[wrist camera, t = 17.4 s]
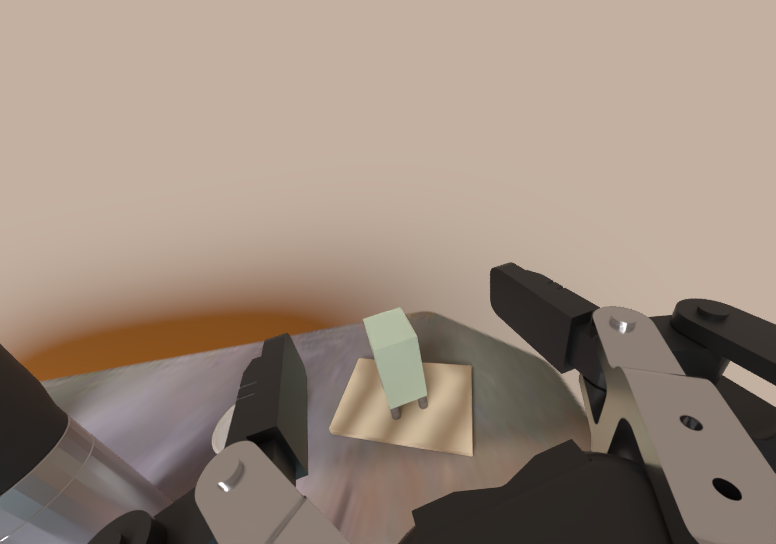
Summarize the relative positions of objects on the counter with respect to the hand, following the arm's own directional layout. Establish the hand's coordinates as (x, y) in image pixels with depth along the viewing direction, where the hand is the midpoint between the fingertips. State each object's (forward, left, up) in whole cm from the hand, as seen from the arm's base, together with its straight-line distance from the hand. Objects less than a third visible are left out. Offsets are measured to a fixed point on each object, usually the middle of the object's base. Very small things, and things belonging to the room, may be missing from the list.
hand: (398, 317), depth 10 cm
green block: (-7, +15, -24) cm, 30 cm away
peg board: (-7, +15, -28) cm, 33 cm away
